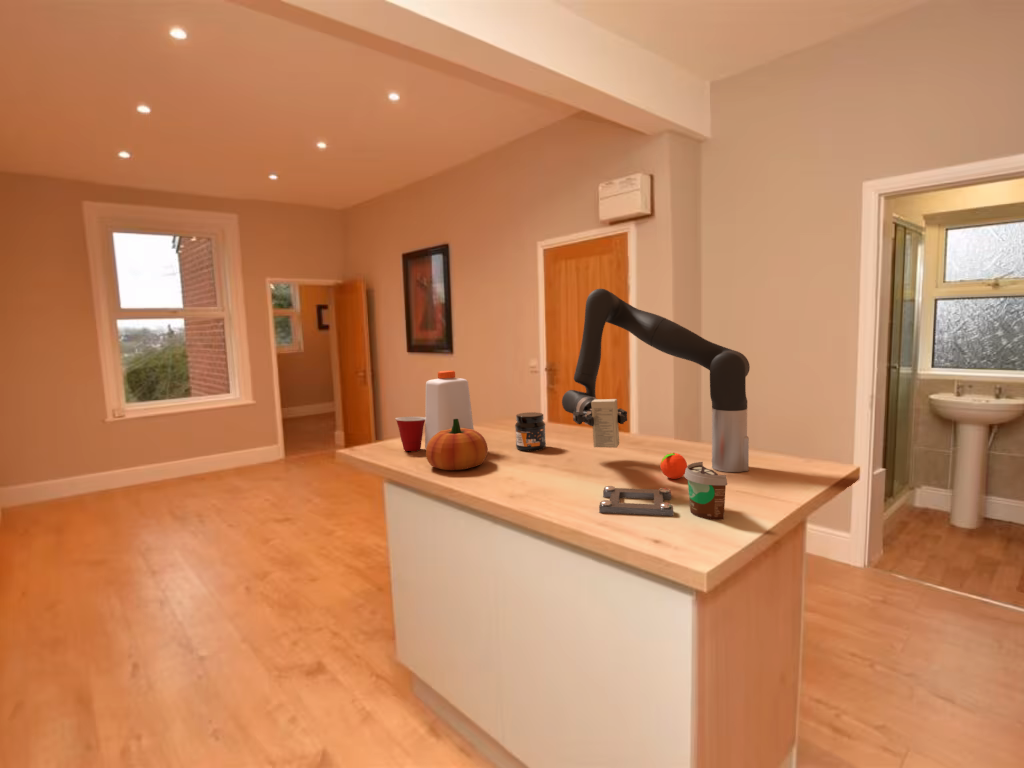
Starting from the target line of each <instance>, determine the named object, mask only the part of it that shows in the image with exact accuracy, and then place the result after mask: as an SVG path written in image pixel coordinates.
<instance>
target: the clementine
mask: <svg viewBox="0 0 1024 768" xmlns="http://www.w3.org/2000/svg"><path fill="white" fill-rule="evenodd" d="M659 466H660V470H661V472H662V474H663V475H664V476H665V477H667V478H668V479H672V480H677V479H680V478H682V477H683V476H684V475H685V470H686V468H687V466H688V463H687V460H686V459H685V457H684V456H683V455H681V454H679V453H676V452H670V453H667V454H666V455H664V456H663V458H662V459H661V461H660V465H659Z"/></svg>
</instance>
